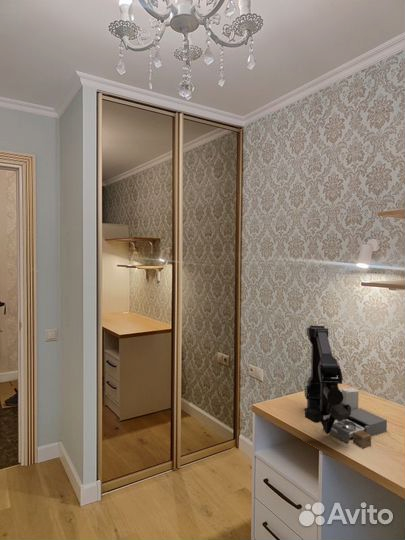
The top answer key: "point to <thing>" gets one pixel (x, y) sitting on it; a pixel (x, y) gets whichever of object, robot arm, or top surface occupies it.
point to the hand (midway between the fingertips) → (327, 433)
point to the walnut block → (362, 439)
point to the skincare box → (350, 397)
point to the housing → (368, 421)
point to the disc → (347, 425)
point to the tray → (343, 431)
